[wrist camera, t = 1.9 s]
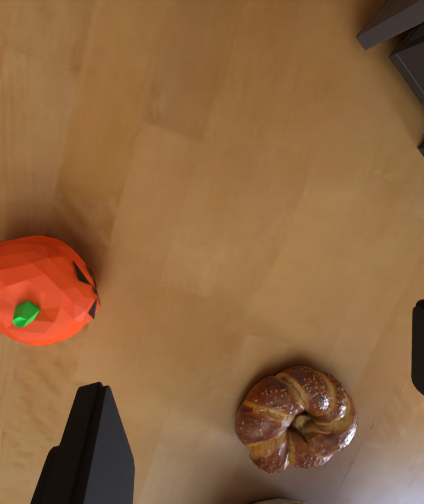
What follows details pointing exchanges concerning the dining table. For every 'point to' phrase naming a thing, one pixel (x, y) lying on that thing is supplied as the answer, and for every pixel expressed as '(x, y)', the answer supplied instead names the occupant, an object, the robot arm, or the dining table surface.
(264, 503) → the ceramic vessel
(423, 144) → the cabinet
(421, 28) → the drawer
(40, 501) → the robot arm
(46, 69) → the dining table surface
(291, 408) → the pretzel
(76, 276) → the pumpkin
